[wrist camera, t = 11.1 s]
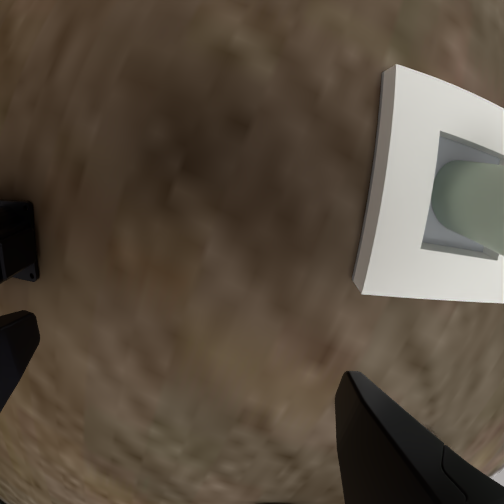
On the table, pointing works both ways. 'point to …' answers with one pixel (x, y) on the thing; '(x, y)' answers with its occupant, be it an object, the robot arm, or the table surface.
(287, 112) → the table surface
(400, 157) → the socket block
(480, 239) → the green post
